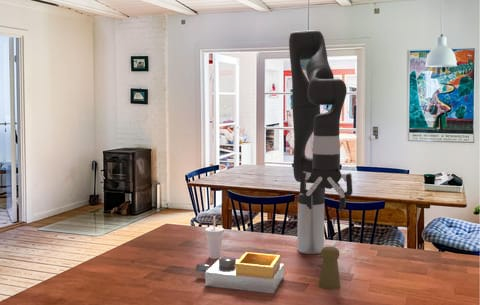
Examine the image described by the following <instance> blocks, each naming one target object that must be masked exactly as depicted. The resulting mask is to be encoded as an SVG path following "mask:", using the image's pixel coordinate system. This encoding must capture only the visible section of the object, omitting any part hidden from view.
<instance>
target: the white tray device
mask: <svg viewBox="0 0 480 305" xmlns="http://www.w3.org/2000/svg"><path fill="white" fill-rule="evenodd" d="M195 270H196V271H195V272H197V273H202V274H204V275H205V276H204V277H205V278H204V280H205V287H215V288H220V289H222V288H223V289H232V290H241V291H247V292H248V291H250V292H255V293H257V292H259V293H266V294H275V292H276V290H277V289H278V287H279V285H280V283H282V282H281V281H282V280H283V278H284V263H281V255H280V254H269V253H259V252H251V251H250V252H248V251H246V252H245V253H243V255H241V257H240V258H239V259H236V258H235V257H232V256H223V257H220V258H217V260H216V261H215V262H214V263H213V264H212V265H211V264H203V263H197V264H196V267H195Z"/></svg>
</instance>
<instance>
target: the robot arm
mask: <svg viewBox="0 0 480 305" xmlns="http://www.w3.org/2000/svg"><path fill="white" fill-rule="evenodd" d="M325 42H326V41H325V39H324V35H323V33H322V32H321V31H320V30H315V29H313V30H311V29H309V30H297V31H292V32H291V33H290V34H289V39H288V47H289V48H288V49H289V51H288V52H289V62H290V70H291V72H290V73H291V86H292V87H291V88H292V89H291V90H292V93H291V94H292V95H291V97H292V103H291V104H292V106H291V107H292V120H293V122H292V123H293V125H292V126H293V138H294V139H293V165H292V167H293V168H292V169H293V177H294V180H295V181H296V182H298V183H300V184H299V194H298V195H297V240H296V241H297V244H296V246H297V247H296V248H297V249H296V250H297V251H298V252H299V253H302V254H306V255H307V254H308V255H316V254H321V250H322V249H323V248H324V246H325V200H326V199H325V198H326V197H325V196H326V189H327V190H331V189H334V191H335V192H336V193H337V194H338V195H339V212H343V210H345V208H346V204H347V203H346V198H347V197H351V196H352V195H353V177H352V176H353V175H352V173H351V172H347V173H341V140H340V122H341V121H340V120H341V114H342V110H343V107H344V103H345V100H346V97H347V91H348V90H347V88H348V87H347V85H346V83H345V81H343V79H340V78H335V76H334V74H333V73H334V72H333V71H332V68H331V65H330V63H329V61H328V54H327V53H328V52H327V47H326V43H325ZM305 60H306V61H307V60H309V61H308V62H307V64H306V67H305V71H306V72H304V71H303V67H302V64H301V61H305ZM305 73H306V74H305ZM306 75H307V77H306ZM321 106H331V107H330V109H329V110H328V111H326V112H323V113H321ZM312 134H313V138H312V139H313V140H312V146H311V147H312V148H311V152H312V155H311V156H309V155H307V156H306V147H307V144H308V142H309V139H310V138H311V136H312ZM341 179H343V181H344V182H345V183H346V191H345V190H344V189H343V187H342V185H340V183H339V182H340V180H341ZM307 184H312V185H311V186H310V188H308V189H307Z"/></svg>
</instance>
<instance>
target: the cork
mask: <svg viewBox="0 0 480 305" xmlns="http://www.w3.org/2000/svg"><path fill="white" fill-rule="evenodd" d="M320 256H321V258H322V261H321V268H320V274H319V275H320V276H319V280H318V281H319V282H318V285H319V286H320V288H322V289H323V288H324V289H326V290H335V289H339V288H340V287H341V280H340V271H339V270H340V269H339V263H338V260H339V257H340V251H339V249H338V248H337V247H335V246H325V247H324V248H323V249H322V250H321V253H320Z"/></svg>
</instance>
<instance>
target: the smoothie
mask: <svg viewBox="0 0 480 305" xmlns="http://www.w3.org/2000/svg"><path fill="white" fill-rule="evenodd" d="M204 230H205V231H204V233H205V235H206V243H207V250H208V257H209V258H210V259H211V260H212V259H214V260H215V259H217V260H218V259H220V258H221V253H222V244H223V242H222V241H223V236H224V234H223V233H225V229H224V227H220V226H216V215H213V226H209V227H206V228H205V229H204Z"/></svg>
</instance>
